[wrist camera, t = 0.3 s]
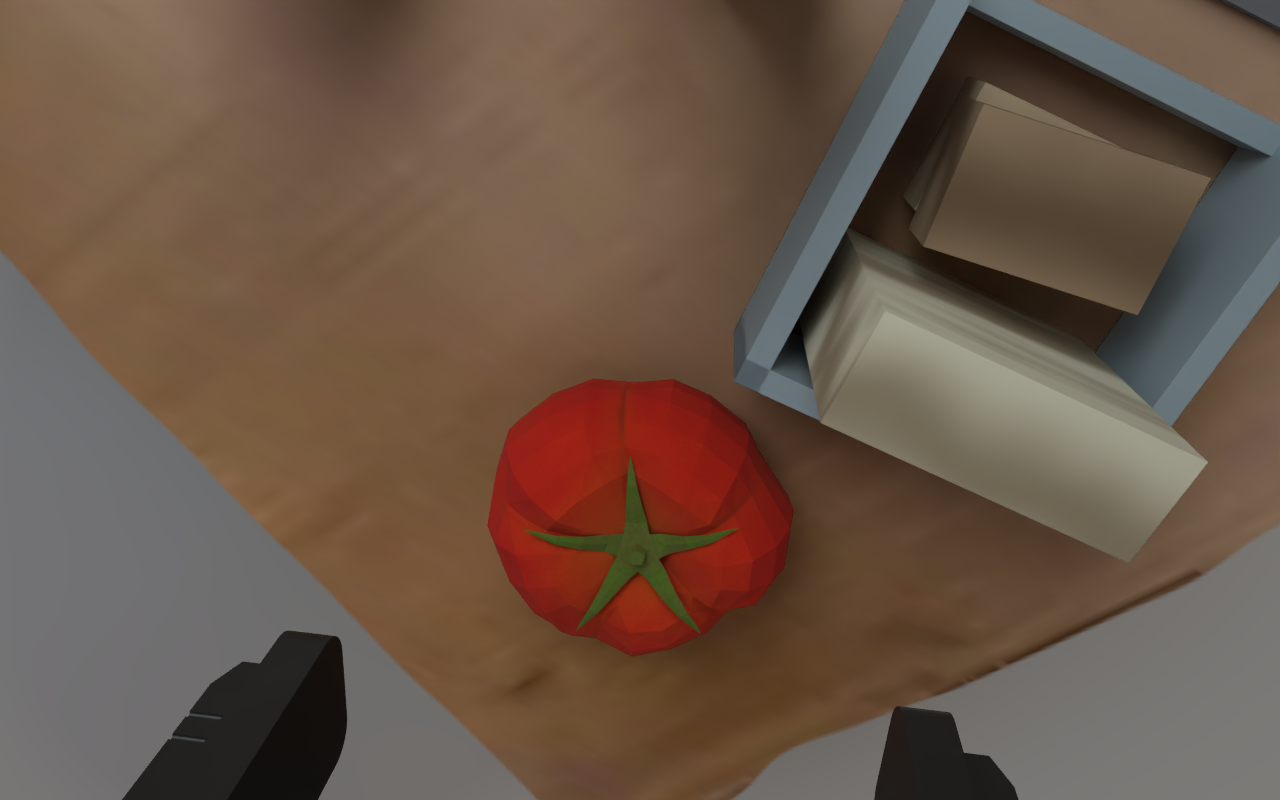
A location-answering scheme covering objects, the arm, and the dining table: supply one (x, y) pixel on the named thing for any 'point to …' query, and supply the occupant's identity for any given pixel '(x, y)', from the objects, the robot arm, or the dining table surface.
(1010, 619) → the dining table surface
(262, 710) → the robot arm
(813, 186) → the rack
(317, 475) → the dining table surface
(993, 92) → the offcut block lower
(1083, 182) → the offcut block upper
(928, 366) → the beige hardcover book
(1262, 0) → the mat
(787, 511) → the tomato
